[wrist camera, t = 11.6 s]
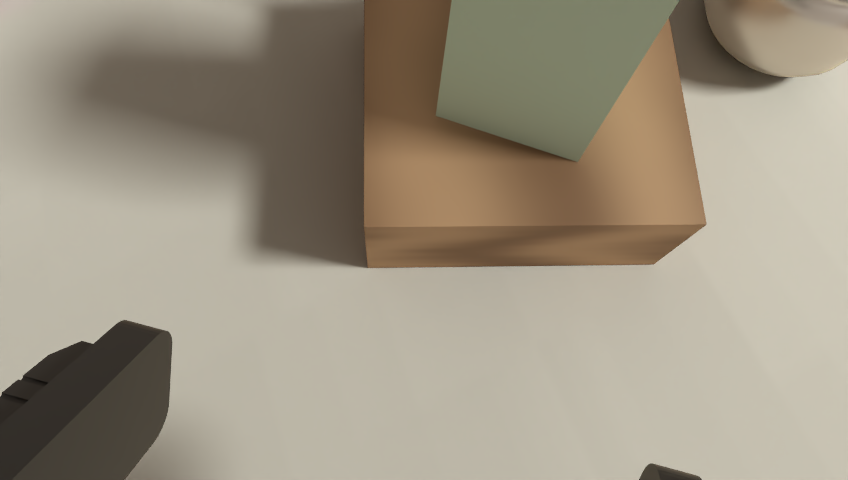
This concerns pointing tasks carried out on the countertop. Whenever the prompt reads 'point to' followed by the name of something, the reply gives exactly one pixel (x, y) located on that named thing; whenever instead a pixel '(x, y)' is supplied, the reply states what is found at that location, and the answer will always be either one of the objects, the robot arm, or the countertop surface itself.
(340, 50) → the countertop surface
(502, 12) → the block
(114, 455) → the robot arm
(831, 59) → the plastic bottle
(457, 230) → the base
